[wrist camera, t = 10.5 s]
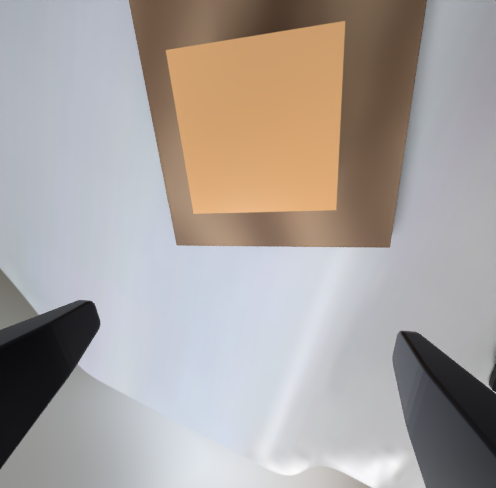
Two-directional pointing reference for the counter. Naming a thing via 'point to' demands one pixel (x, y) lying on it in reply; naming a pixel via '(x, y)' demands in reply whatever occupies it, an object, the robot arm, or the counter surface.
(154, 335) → the counter surface
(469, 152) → the counter surface
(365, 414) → the counter surface
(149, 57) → the post board
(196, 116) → the peach wooden cube
